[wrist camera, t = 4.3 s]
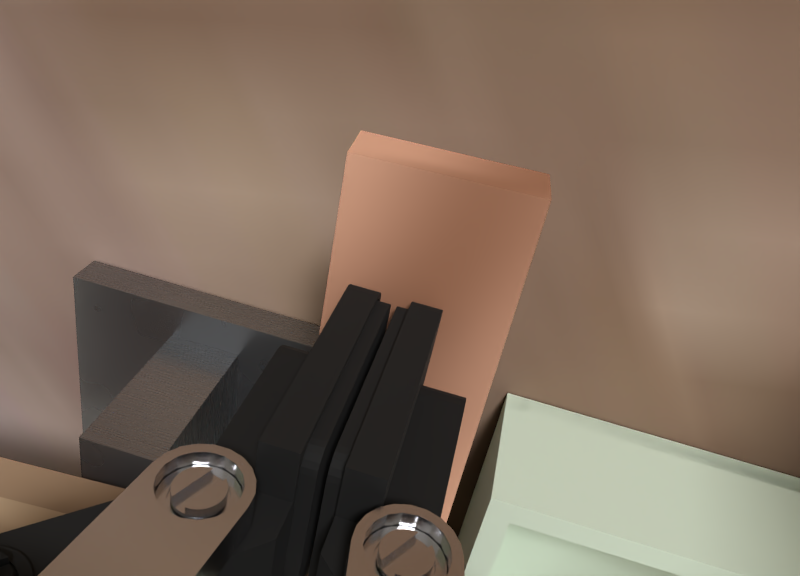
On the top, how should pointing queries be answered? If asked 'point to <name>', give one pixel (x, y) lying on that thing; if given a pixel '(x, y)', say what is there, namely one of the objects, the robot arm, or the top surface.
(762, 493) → the tray
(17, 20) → the top surface
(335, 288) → the chute
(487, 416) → the top surface
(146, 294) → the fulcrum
